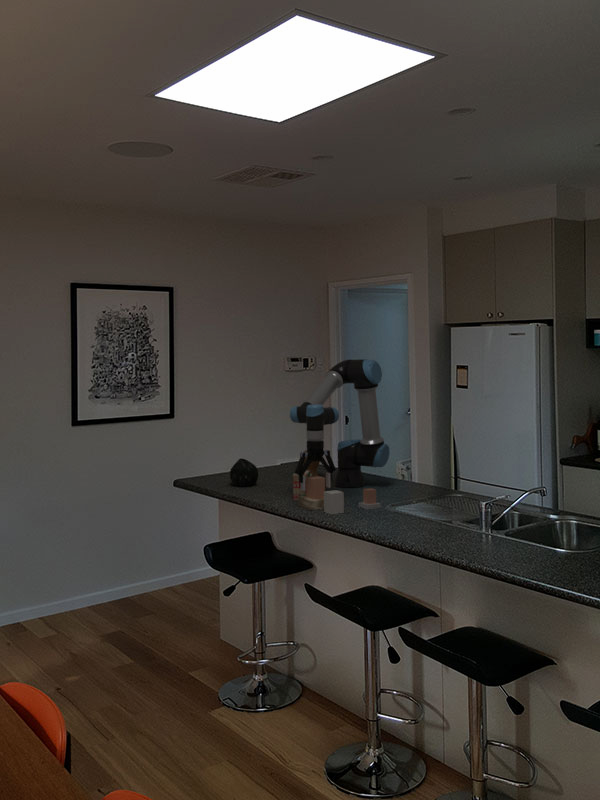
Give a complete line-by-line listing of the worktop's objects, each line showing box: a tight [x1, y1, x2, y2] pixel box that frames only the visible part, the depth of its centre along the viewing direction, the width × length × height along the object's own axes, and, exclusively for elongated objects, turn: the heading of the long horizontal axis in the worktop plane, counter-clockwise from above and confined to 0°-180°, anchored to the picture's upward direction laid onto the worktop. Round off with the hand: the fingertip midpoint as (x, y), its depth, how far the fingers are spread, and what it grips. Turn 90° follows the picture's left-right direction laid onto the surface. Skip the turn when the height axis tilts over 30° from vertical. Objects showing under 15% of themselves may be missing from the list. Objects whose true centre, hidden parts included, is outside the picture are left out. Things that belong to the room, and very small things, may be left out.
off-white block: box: [323, 489, 345, 515], centre depth 319 cm, size 6×6×9 cm
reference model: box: [358, 487, 382, 511], centre depth 329 cm, size 7×7×8 cm
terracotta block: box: [306, 475, 326, 500], centre depth 332 cm, size 6×6×9 cm
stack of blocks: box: [292, 470, 313, 501], centre depth 356 cm, size 21×6×12 cm, turn 171°
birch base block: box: [296, 496, 324, 511], centre depth 332 cm, size 12×12×4 cm
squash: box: [229, 458, 259, 487], centre depth 387 cm, size 14×15×15 cm
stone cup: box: [303, 449, 321, 476], centre depth 409 cm, size 15×12×15 cm
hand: (315, 488), depth 332 cm, fingers open, 12 cm apart
